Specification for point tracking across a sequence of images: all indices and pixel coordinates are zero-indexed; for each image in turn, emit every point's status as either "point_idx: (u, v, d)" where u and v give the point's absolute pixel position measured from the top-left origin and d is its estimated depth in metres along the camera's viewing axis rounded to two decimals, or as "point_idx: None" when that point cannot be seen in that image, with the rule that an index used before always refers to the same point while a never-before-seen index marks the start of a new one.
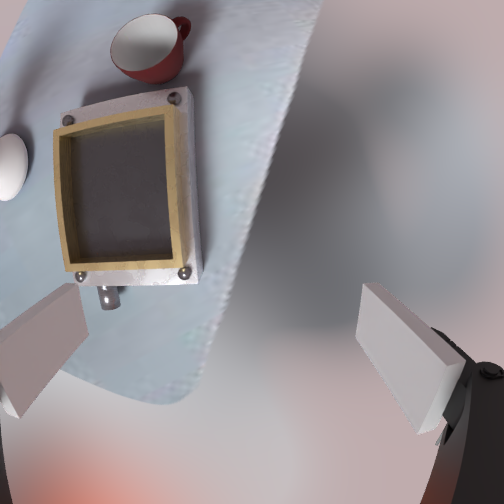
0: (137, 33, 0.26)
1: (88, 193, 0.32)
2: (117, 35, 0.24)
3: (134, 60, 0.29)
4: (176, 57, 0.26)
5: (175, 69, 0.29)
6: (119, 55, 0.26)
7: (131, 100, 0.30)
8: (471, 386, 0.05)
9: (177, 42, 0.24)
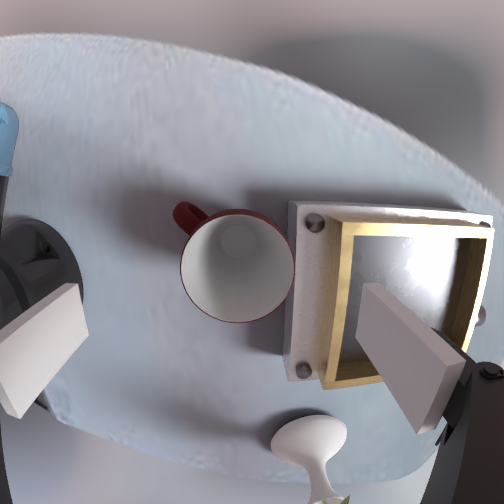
0: (198, 282, 0.23)
1: None
2: (212, 314, 0.21)
3: (233, 284, 0.27)
4: (265, 217, 0.21)
5: None
6: (239, 307, 0.23)
7: (302, 284, 0.26)
8: (471, 386, 0.05)
9: (250, 214, 0.20)
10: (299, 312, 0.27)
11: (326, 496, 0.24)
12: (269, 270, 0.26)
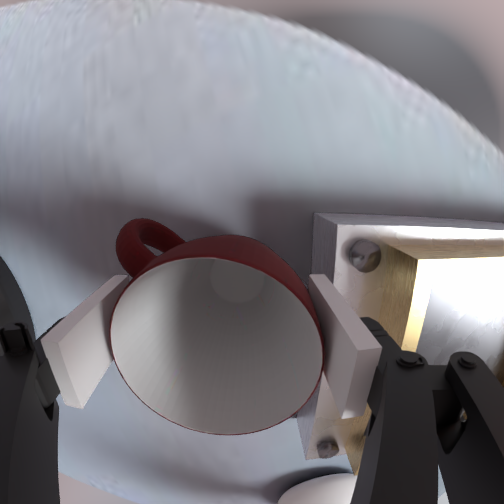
0: (160, 355, 0.13)
1: None
2: (174, 418, 0.11)
3: (222, 350, 0.16)
4: (271, 256, 0.11)
5: None
6: (225, 399, 0.13)
7: None
8: (386, 377, 0.06)
9: (234, 256, 0.09)
10: None
11: None
12: (280, 333, 0.15)
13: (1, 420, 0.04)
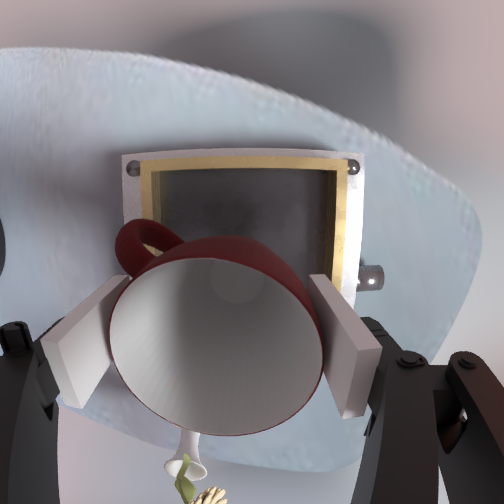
0: (159, 356, 0.13)
1: None
2: (173, 418, 0.11)
3: (222, 350, 0.16)
4: (271, 256, 0.11)
5: None
6: (224, 399, 0.13)
7: None
8: (387, 377, 0.06)
9: (233, 256, 0.09)
10: None
11: (181, 457, 0.26)
12: (280, 333, 0.15)
13: (1, 420, 0.04)
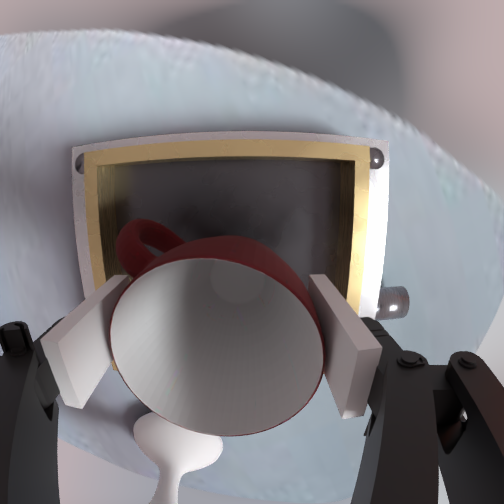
0: (160, 356, 0.13)
1: None
2: (174, 418, 0.11)
3: (222, 350, 0.16)
4: (272, 256, 0.11)
5: None
6: (225, 399, 0.13)
7: (82, 236, 0.20)
8: (386, 377, 0.06)
9: (234, 256, 0.09)
10: (85, 270, 0.21)
11: None
12: (280, 333, 0.15)
13: (1, 420, 0.04)
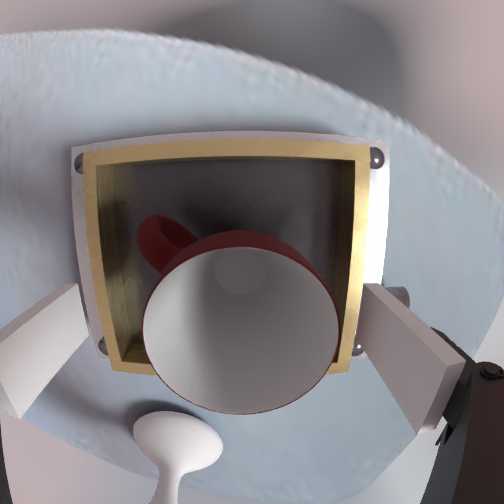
0: (179, 344, 0.14)
1: None
2: (200, 402, 0.12)
3: (232, 338, 0.17)
4: (290, 246, 0.12)
5: None
6: (242, 382, 0.14)
7: (82, 236, 0.20)
8: (471, 386, 0.05)
9: (265, 245, 0.10)
10: (85, 270, 0.21)
11: None
12: (286, 319, 0.17)
13: None
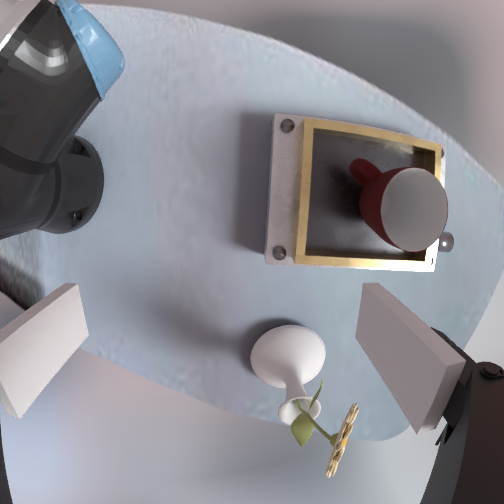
0: None
1: (362, 233, 0.34)
2: (394, 244, 0.25)
3: None
4: None
5: None
6: (401, 245, 0.27)
7: (278, 171, 0.33)
8: (471, 386, 0.05)
9: (426, 170, 0.23)
10: (275, 195, 0.34)
11: (300, 395, 0.30)
12: (409, 223, 0.30)
13: None
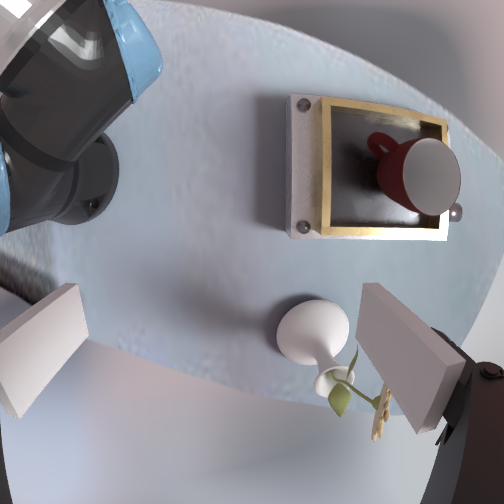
0: None
1: (380, 204, 0.35)
2: (417, 208, 0.25)
3: None
4: (438, 147, 0.26)
5: (426, 155, 0.28)
6: (421, 211, 0.27)
7: (297, 148, 0.33)
8: (471, 386, 0.05)
9: (438, 140, 0.24)
10: (296, 171, 0.34)
11: (334, 365, 0.31)
12: (424, 192, 0.30)
13: None
